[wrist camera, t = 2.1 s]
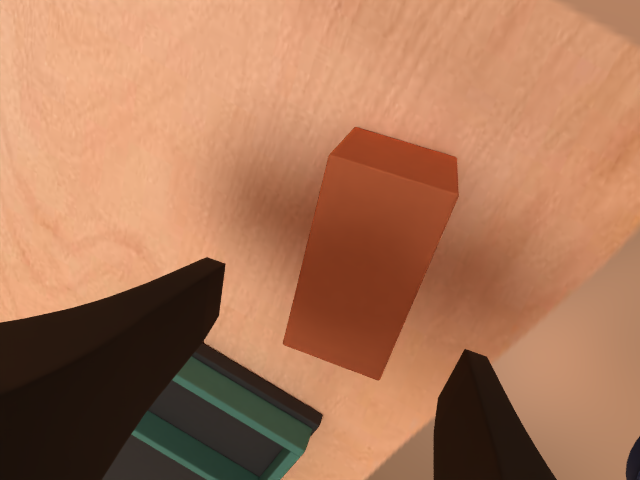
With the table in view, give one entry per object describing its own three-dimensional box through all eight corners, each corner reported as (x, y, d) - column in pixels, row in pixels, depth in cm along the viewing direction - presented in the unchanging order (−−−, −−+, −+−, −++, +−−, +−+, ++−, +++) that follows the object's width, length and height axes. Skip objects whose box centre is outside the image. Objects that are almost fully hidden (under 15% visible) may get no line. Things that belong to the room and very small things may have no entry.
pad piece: (457, 157, 16) (459, 194, 12) (391, 318, 20) (379, 381, 16) (354, 126, 16) (328, 153, 13) (310, 290, 20) (282, 345, 17)
